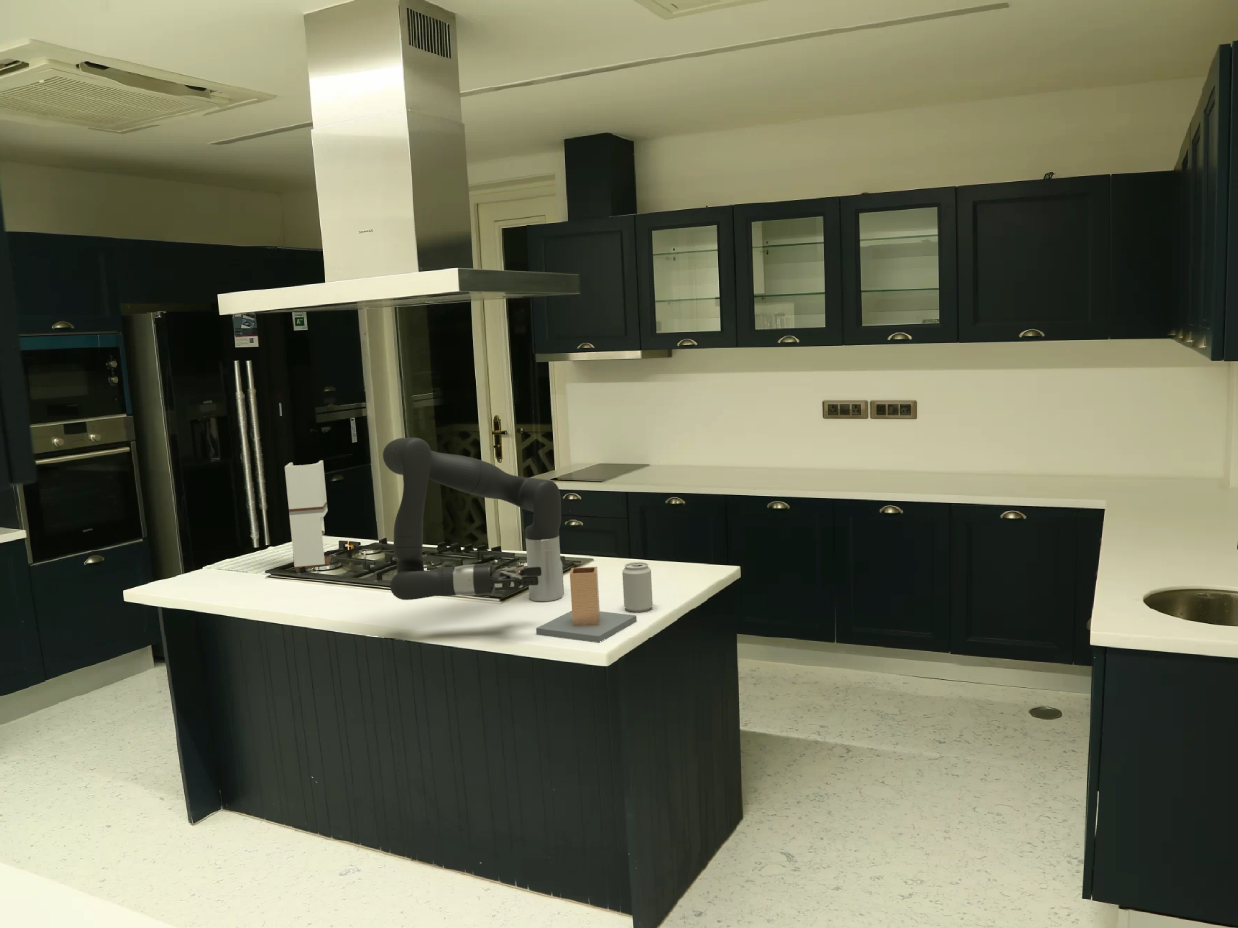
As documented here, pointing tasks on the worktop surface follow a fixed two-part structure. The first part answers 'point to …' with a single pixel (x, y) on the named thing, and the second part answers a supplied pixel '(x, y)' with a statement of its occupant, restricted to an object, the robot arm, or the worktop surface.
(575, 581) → the tan box
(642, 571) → the can
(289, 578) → the worktop surface
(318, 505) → the brown-banded white column
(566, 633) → the duct base
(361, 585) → the worktop surface
